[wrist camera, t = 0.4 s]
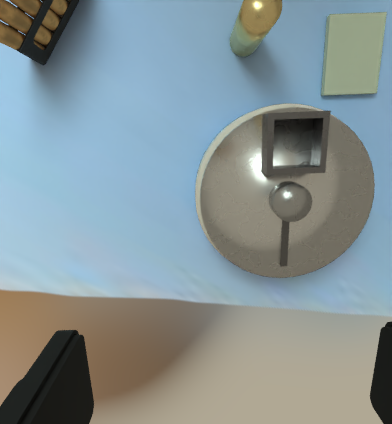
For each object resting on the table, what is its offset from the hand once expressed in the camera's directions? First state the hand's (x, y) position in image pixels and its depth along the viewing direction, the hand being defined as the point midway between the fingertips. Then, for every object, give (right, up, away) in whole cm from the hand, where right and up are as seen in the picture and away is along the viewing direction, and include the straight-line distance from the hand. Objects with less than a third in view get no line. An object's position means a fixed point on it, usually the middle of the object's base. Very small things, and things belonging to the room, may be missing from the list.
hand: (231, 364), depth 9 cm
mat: (+16, +22, +23) cm, 36 cm away
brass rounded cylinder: (+4, +24, +23) cm, 33 cm away
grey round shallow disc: (+9, +7, +24) cm, 26 cm away
